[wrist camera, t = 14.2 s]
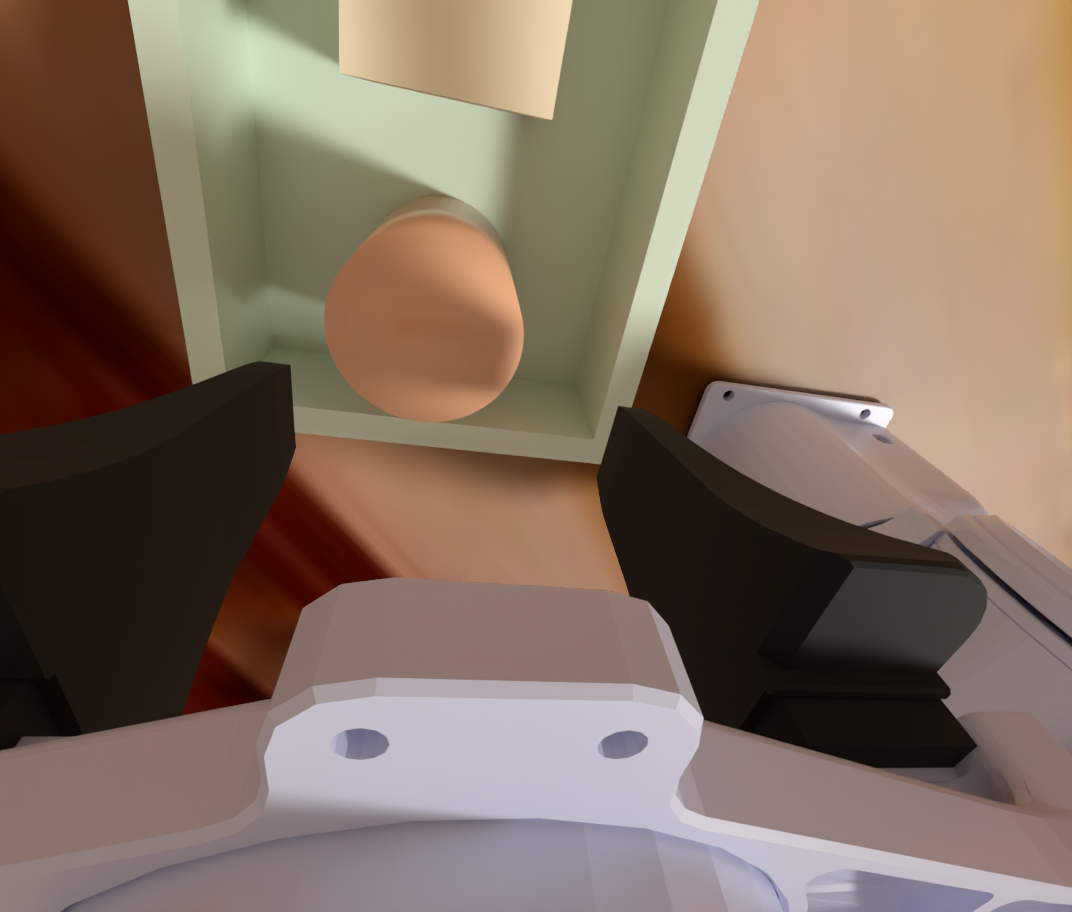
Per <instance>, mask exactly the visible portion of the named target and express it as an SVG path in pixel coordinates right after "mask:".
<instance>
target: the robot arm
mask: <svg viewBox="0 0 1072 912" xmlns="http://www.w3.org/2000/svg"><path fill="white" fill-rule="evenodd" d="M730 390H731V393H730V394H729V395H728V396H727V397H723V395H724V393H725V392H727V391H730ZM863 410H865V411H864V412H863V413H862V414H860V413H861V412H862V411H863ZM892 416H893V409H892V408H891V407H889V406H888V405H886V404H882V403H875V402H868V401H860V400H853V399H846V398H839V397H832V396H824V395H817V394H810V393H803V392H796V391H788V390H781V389H774V388H767V387H760V386H753V385H745V384H738V383H731V382H724V381H714V382H712V383H710V384H709V385H708V386H707V387H706V389H705V391H704V394H703V397H702V399H701V402H700V404H699V407H698V409H697V412H696V415H695V417H694V420H693V422H692V425H691V428H690V430H689V433H688V435H687V437H686V436H684V435H683V434H682V433H680V432H679V431H677V430H676V429H674V428H673V427H672V426H670V425H669V424H667V423H666V422H664V421H663V420H661V419H660V418H658V417H657V416H655V415H654V414H652V413H650V412H648V411H646V410H644V409H639V408H631V407H623V406H618V408H617V411H616V415H615V418H614V421H613V425H612V428H611V432H610V435H609V438H608V442H607V445H606V448H605V452H604V455H603V458H602V462H601V465H600V468H599V472H598V475H597V483H598V489H599V496H600V502H601V507H602V512H603V516H604V519H605V522H606V525H607V528H608V531H609V534H610V537H611V540H612V543H613V546H614V549H615V552H616V555H617V558H618V561H619V564H620V567H621V570H622V573H623V576H624V579H625V582H626V585H627V588H628V592H629V595H630V596H626V595H623V594H619V593H615V592H612V591H608V590H599V589H582V588H565V587H548V586H531V585H514V584H497V583H480V582H462V581H445V580H428V579H411V578H387V579H379V580H371V581H364V582H356V583H348V584H341V585H339V586H338V587H336V588H334V589H333V590H331V591H330V592H328V593H326V594H325V595H323V596H322V597H320V598H318V599H317V600H315V601H314V602H312V603H310V604H309V605H307V606H306V607H304V608H303V609H302V612H301V615H300V618H299V621H298V623H297V626H296V629H295V632H294V635H293V637H292V640H291V643H290V646H289V649H288V652H287V655H286V658H285V661H284V664H283V667H282V669H281V672H280V675H279V678H278V681H277V684H276V687H275V690H274V693H273V696H272V699H267V700H262V701H257V702H252V703H246V704H241V705H236V706H231V707H225V708H220V709H215V710H210V711H204V712H199V713H194V714H189V715H184V716H181V715H182V712H183V709H184V706H185V703H186V700H187V697H188V694H189V691H190V688H191V685H192V683H193V680H194V677H195V674H196V671H197V668H198V665H199V663H200V660H201V657H202V655H203V652H204V649H205V647H206V644H207V641H208V639H209V636H210V633H211V630H212V628H213V625H214V622H215V620H216V617H217V615H218V612H219V610H220V607H221V605H222V602H223V600H224V597H225V595H226V592H227V590H228V587H229V585H230V583H231V580H232V578H233V576H234V574H235V572H236V570H237V568H238V566H239V564H240V562H241V560H242V558H243V557H244V555H245V553H246V551H247V549H248V548H249V546H250V544H251V542H252V540H253V539H254V537H255V535H256V533H257V531H258V529H259V528H260V526H261V524H262V522H263V520H264V519H265V517H266V515H267V513H268V511H269V510H270V508H271V506H272V504H273V502H274V500H275V498H276V497H277V495H278V493H279V491H280V489H281V487H282V485H283V483H284V480H285V478H286V475H287V472H288V469H289V467H290V464H291V461H292V458H293V455H294V452H295V449H296V444H295V428H294V412H293V395H292V379H291V365H287V364H279V363H271V362H263V361H257V362H253V363H249V364H246V365H243V366H240V367H237V368H235V369H232V370H229V371H227V372H224V373H222V374H219V375H217V376H214V377H211V378H209V379H206V380H204V381H201V382H198V383H196V384H193V385H191V386H188V387H186V388H183V389H180V390H177V391H174V392H171V393H168V394H165V395H162V396H160V397H157V398H154V399H151V400H148V401H145V402H142V403H139V404H136V405H133V406H129V407H126V408H123V409H119V410H116V411H112V412H108V413H104V414H100V415H96V416H92V417H88V418H84V419H80V420H76V421H71V422H67V423H62V424H57V425H51V426H46V427H40V428H35V429H29V430H24V431H19V432H13V433H8V434H2V435H0V912H1072V569H1071V568H1069V567H1068V566H1067V565H1065V564H1064V563H1063V562H1061V561H1060V560H1058V559H1057V558H1056V557H1054V556H1053V555H1052V554H1050V553H1049V552H1048V551H1046V550H1045V549H1044V548H1042V547H1041V546H1039V545H1038V544H1037V543H1035V542H1034V541H1033V540H1031V539H1030V538H1028V537H1027V536H1026V535H1024V534H1023V533H1021V532H1020V531H1019V530H1017V529H1016V528H1014V527H1013V526H1012V525H1010V524H1009V523H1007V522H1006V521H1004V520H1003V519H1001V518H1000V517H998V516H996V515H988V513H987V512H986V510H985V509H984V507H983V506H982V505H981V504H980V503H979V501H978V500H977V499H976V498H975V497H973V496H972V495H971V494H970V493H969V492H967V491H966V490H965V489H963V488H962V487H961V486H959V485H958V484H957V483H956V482H954V481H953V480H952V479H950V478H949V477H948V476H946V475H945V474H944V473H943V472H941V471H940V470H939V469H937V468H936V467H935V466H933V465H932V464H931V463H930V462H928V461H927V460H926V459H924V458H923V457H922V456H920V455H919V454H918V453H917V452H915V451H914V450H913V449H911V448H910V447H909V446H907V445H906V444H905V443H904V442H902V441H901V440H900V439H898V438H897V437H896V436H894V435H893V434H892V433H891V432H889V431H888V430H887V429H885V428H886V426H887V424H888V423H889V421H890V420H891V418H892Z"/></svg>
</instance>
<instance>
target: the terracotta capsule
mask: <svg viewBox="0 0 1072 912" xmlns="http://www.w3.org/2000/svg"><path fill="white" fill-rule="evenodd" d="M324 329H325V335H326V341H327V345H328V348H329V351H330V354H331V356H332V359H333V361H334V363H335V365H336V367H337V368H338V370H339V372H340V373H341V375H342V376H343V378H344V379H345V380H346V381H347V383H348V384H349V385H350V386H351V387H352V388H353V389H354V390H355V391H356V392H357V393H358V394H359V395H360V396H361V397H363V398H364V399H365V400H366V401H368V402H369V403H371V404H372V405H374V406H375V407H377V408H379V409H381V410H383V411H385V412H387V413H389V414H391V415H394V416H397V417H400V418H403V419H408V420H412V421H419V422H443V421H450V420H455V419H459V418H462V417H465V416H468V415H470V414H472V413H474V412H476V411H478V410H480V409H482V408H483V407H485V406H486V405H488V404H489V403H491V402H492V401H493V400H494V399H495V398H496V397H498V396H499V395H500V393H501V392H502V391H503V390H504V389H505V388H506V386H507V385H508V383H509V382H510V380H511V379H512V377H513V375H514V373H515V371H516V369H517V367H518V364H519V361H520V358H521V354H522V349H523V339H524V329H523V319H522V315H521V310H520V306H519V302H518V298H517V294H516V290H515V286H514V282H513V278H512V274H511V270H510V266H509V262H508V258H507V254H506V250H505V247H504V245H503V242H502V240H501V238H500V236H499V234H498V232H497V231H496V229H495V228H494V226H493V225H492V224H491V222H490V221H489V220H488V219H487V218H486V217H485V216H484V215H483V214H482V213H481V212H480V211H478V210H477V209H475V208H474V207H472V206H471V205H469V204H467V203H465V202H463V201H461V200H458V199H455V198H452V197H447V196H441V195H428V196H421V197H417V198H413V199H411V200H408V201H406V202H404V203H402V204H400V205H399V206H397V207H396V208H395V209H393V210H392V211H391V212H390V213H389V214H388V215H387V216H386V217H385V218H384V219H383V221H382V222H381V223H380V224H379V225H378V226H377V227H376V229H375V230H374V231H373V232H372V233H371V234H370V236H369V237H368V238H367V239H366V240H365V241H364V242H363V244H362V245H361V246H360V247H359V248H358V249H357V250H356V252H355V253H354V254H353V255H352V256H351V257H350V259H349V260H348V261H347V262H346V263H345V264H344V265H343V267H342V268H341V269H340V271H339V272H338V274H337V276H336V277H335V279H334V281H333V283H332V285H331V287H330V290H329V293H328V296H327V300H326V305H325V312H324Z"/></svg>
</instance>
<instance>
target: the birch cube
mask: <svg viewBox="0 0 1072 912" xmlns="http://www.w3.org/2000/svg"><path fill="white" fill-rule="evenodd" d="M572 1H573V0H339V73H342V74H345V75H349V76H352V77H356V78H359V79H363V80H366V81H370V82H373V83H378V84H382V85H387V86H391V87H396V88H400V89H405V90H409V91H414V92H419V93H423V94H428V95H432V96H437V97H441V98H446V99H450V100H455V101H459V102H464V103H468V104H473V105H477V106H482V107H486V108H491V109H495V110H500V111H504V112H509V113H513V114H518V115H523V116H527V117H532V118H539V119H548V120H552V118H553V113H554V107H555V101H556V95H557V89H558V83H559V77H560V72H561V66H562V60H563V54H564V48H565V42H566V36H567V31H568V25H569V19H570V13H571V7H572Z"/></svg>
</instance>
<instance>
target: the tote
mask: <svg viewBox="0 0 1072 912" xmlns="http://www.w3.org/2000/svg"><path fill="white" fill-rule="evenodd" d="M758 3H759V0H573V1H572V7H571V13H570V19H569V25H568V31H567V36H566V42H565V48H564V54H563V60H562V66H561V72H560V77H559V83H558V89H557V95H556V101H555V107H554V113H553V118H552V120H548V119H539V118H532V117H527V116H523V115H518V114H513V113H509V112H504V111H500V110H495V109H491V108H486V107H482V106H477V105H473V104H468V103H464V102H459V101H455V100H450V99H446V98H441V97H437V96H432V95H428V94H423V93H419V92H414V91H409V90H405V89H400V88H396V87H391V86H387V85H382V84H378V83H373V82H370V81H366V80H363V79H359V78H356V77H352V76H349V75H345V74H342V73H339V0H128V4H129V10H130V16H131V22H132V28H133V34H134V40H135V46H136V51H137V57H138V63H139V69H140V75H141V81H142V87H143V93H144V99H145V105H146V111H147V117H148V123H149V128H150V134H151V140H152V146H153V152H154V158H155V164H156V170H157V176H158V182H159V188H160V194H161V200H162V206H163V211H164V217H165V223H166V229H167V235H168V241H169V247H170V253H171V259H172V265H173V271H174V277H175V283H176V289H177V294H178V300H179V306H180V312H181V318H182V324H183V330H184V336H185V342H186V348H187V354H188V360H189V366H190V371H191V377H192V383H193V384H196V383H198V382H201V381H204V380H206V379H209V378H211V377H214V376H217V375H219V374H222V373H224V372H227V371H229V370H232V369H235V368H237V367H240V366H243V365H246V364H249V363H253V362H257V361H263V362H271V363H279V364H287V365H291V379H292V395H293V412H294V428H295V433H303V434H313V435H322V436H332V437H342V438H351V439H361V440H371V441H380V442H390V443H400V444H409V445H419V446H429V447H438V448H448V449H458V450H467V451H477V452H487V453H497V454H506V455H516V456H526V457H535V458H545V459H555V460H564V461H574V462H584V463H593V464H601V462H602V458H603V455H604V452H605V448H606V445H607V442H608V438H609V435H610V432H611V428H612V425H613V421H614V418H615V415H616V411H617V408H618V406H623V407H631V408H632V405H633V401H634V398H635V395H636V392H637V389H638V386H639V382H640V379H641V376H642V373H643V370H644V366H645V363H646V360H647V357H648V354H649V350H650V347H651V344H652V341H653V338H654V335H655V331H656V328H657V325H658V322H659V319H660V315H661V312H662V309H663V306H664V303H665V300H666V296H667V293H668V290H669V287H670V284H671V280H672V277H673V274H674V271H675V268H676V264H677V261H678V258H679V255H680V252H681V249H682V245H683V242H684V239H685V236H686V233H687V229H688V226H689V223H690V220H691V217H692V214H693V210H694V207H695V204H696V201H697V198H698V194H699V191H700V188H701V185H702V182H703V178H704V175H705V172H706V169H707V166H708V163H709V159H710V156H711V153H712V150H713V147H714V143H715V140H716V137H717V134H718V131H719V128H720V124H721V121H722V118H723V115H724V112H725V108H726V105H727V102H728V99H729V96H730V92H731V89H732V86H733V83H734V80H735V77H736V73H737V70H738V67H739V64H740V61H741V57H742V54H743V51H744V48H745V45H746V41H747V38H748V35H749V32H750V29H751V26H752V22H753V19H754V16H755V13H756V10H757V6H758ZM428 195H441V196H447V197H452V198H455V199H458V200H461V201H463V202H465V203H467V204H469V205H471V206H472V207H474V208H475V209H477V210H478V211H480V212H481V213H482V214H483V215H484V216H485V217H486V218H487V219H488V220H489V221H490V222H491V224H492V225H493V226H494V228H495V229H496V231H497V232H498V234H499V236H500V238H501V240H502V242H503V245H504V247H505V250H506V254H507V258H508V262H509V266H510V270H511V274H512V278H513V282H514V286H515V290H516V294H517V298H518V302H519V306H520V310H521V315H522V319H523V329H524V339H523V349H522V354H521V358H520V361H519V364H518V367H517V369H516V371H515V373H514V375H513V377H512V379H511V380H510V382H509V383H508V385H507V386H506V388H505V389H504V390H503V391H502V392H501V393H500V395H499V396H498V397H496V398H495V399H494V400H493V401H492V402H491V403H489V404H488V405H486V406H485V407H483V408H482V409H480V410H478V411H476V412H474V413H472V414H470V415H468V416H465V417H462V418H459V419H455V420H450V421H443V422H419V421H412V420H408V419H403V418H400V417H397V416H394V415H391V414H389V413H387V412H385V411H383V410H381V409H379V408H377V407H375V406H374V405H372V404H371V403H369V402H368V401H366V400H365V399H364V398H363V397H361V396H360V395H359V394H358V393H357V392H356V391H355V390H354V389H353V388H352V387H351V386H350V385H349V384H348V383H347V381H346V380H345V379H344V378H343V376H342V375H341V373H340V372H339V370H338V368H337V367H336V365H335V363H334V361H333V359H332V356H331V354H330V351H329V348H328V345H327V341H326V335H325V329H324V312H325V305H326V300H327V296H328V293H329V290H330V287H331V285H332V283H333V281H334V279H335V277H336V276H337V274H338V272H339V271H340V269H341V268H342V267H343V265H344V264H345V263H346V262H347V261H348V260H349V259H350V257H351V256H352V255H353V254H354V253H355V252H356V250H357V249H358V248H359V247H360V246H361V245H362V244H363V242H364V241H365V240H366V239H367V238H368V237H369V236H370V234H371V233H372V232H373V231H374V230H375V229H376V227H377V226H378V225H379V224H380V223H381V222H382V221H383V219H384V218H385V217H386V216H387V215H388V214H389V213H390V212H391V211H392V210H393V209H395V208H396V207H397V206H399V205H400V204H402V203H404V202H406V201H408V200H411V199H413V198H417V197H421V196H428Z"/></svg>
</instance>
